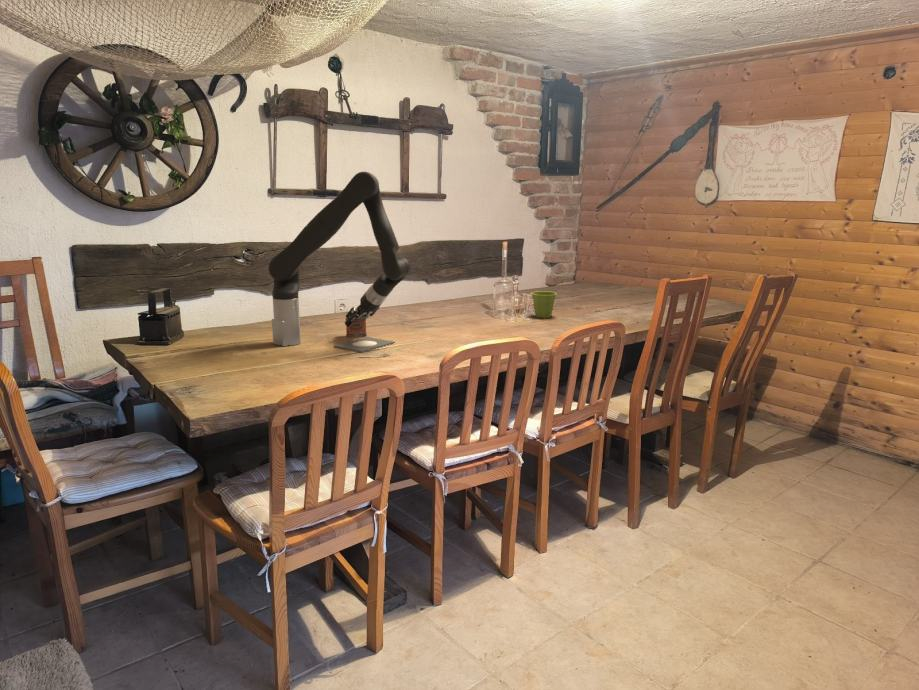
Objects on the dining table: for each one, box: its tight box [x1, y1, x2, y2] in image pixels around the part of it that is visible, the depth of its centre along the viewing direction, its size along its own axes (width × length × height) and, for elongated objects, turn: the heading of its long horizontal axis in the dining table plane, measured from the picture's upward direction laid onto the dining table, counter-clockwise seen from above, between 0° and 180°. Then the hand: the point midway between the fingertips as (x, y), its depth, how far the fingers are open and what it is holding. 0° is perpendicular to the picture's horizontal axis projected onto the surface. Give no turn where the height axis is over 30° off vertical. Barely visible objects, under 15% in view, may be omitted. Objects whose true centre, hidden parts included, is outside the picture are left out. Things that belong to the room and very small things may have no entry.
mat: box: [333, 336, 396, 354], centre depth 233 cm, size 18×14×1 cm
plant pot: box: [530, 290, 558, 319], centre depth 288 cm, size 12×12×11 cm
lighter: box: [345, 313, 368, 338], centre depth 246 cm, size 8×3×10 cm, turn 105°
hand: (353, 323), depth 247 cm, fingers closed on lighter, 7 cm apart
